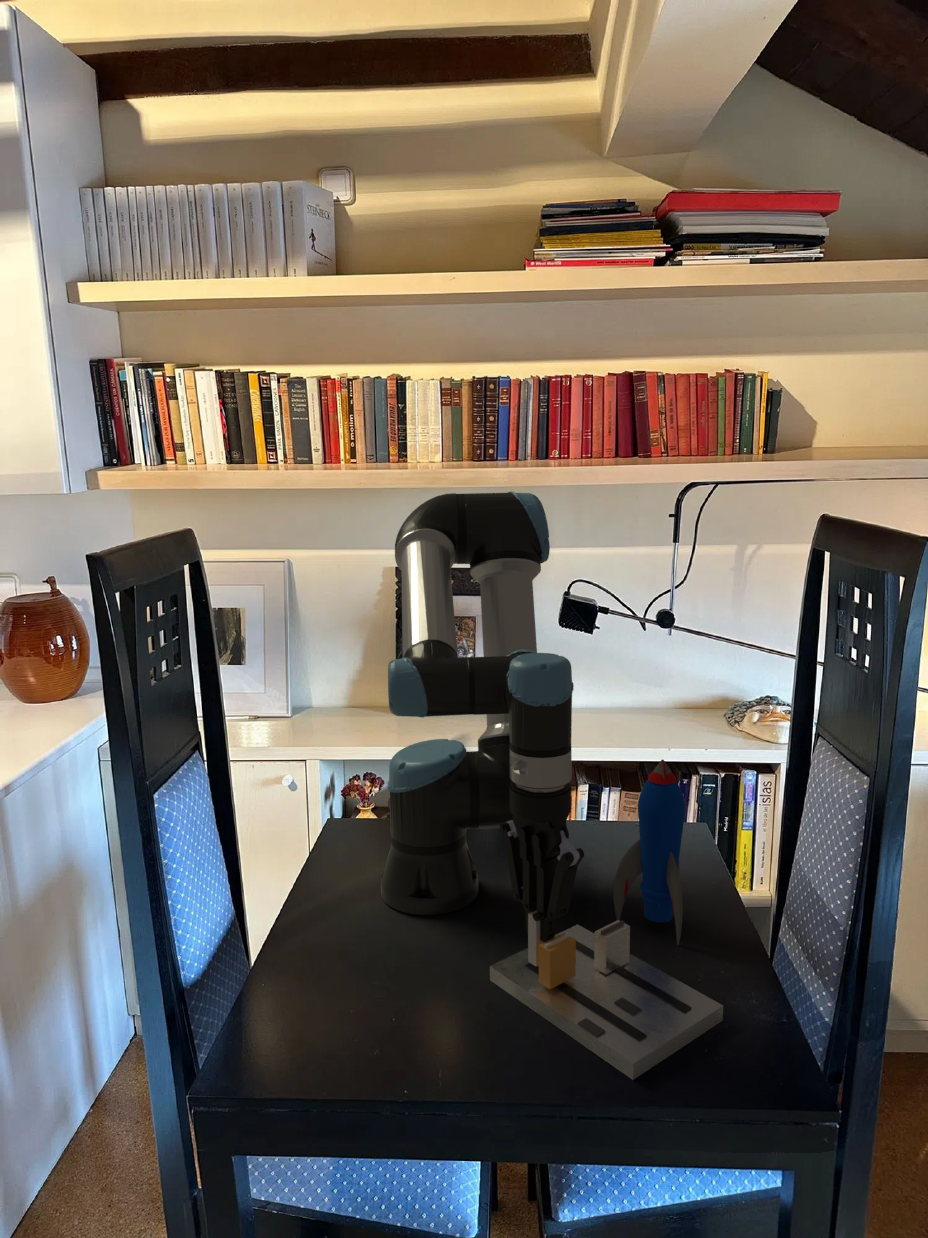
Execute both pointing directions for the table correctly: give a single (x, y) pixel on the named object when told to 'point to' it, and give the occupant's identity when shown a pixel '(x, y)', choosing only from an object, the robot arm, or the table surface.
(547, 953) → the fader
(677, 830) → the toy rocket
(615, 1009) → the console
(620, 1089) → the table surface
